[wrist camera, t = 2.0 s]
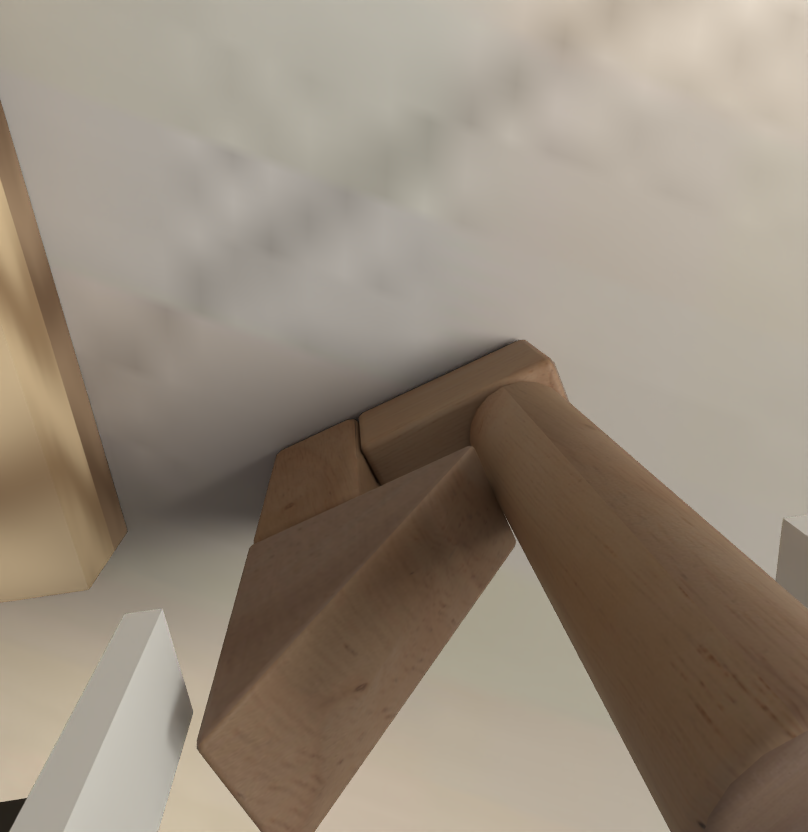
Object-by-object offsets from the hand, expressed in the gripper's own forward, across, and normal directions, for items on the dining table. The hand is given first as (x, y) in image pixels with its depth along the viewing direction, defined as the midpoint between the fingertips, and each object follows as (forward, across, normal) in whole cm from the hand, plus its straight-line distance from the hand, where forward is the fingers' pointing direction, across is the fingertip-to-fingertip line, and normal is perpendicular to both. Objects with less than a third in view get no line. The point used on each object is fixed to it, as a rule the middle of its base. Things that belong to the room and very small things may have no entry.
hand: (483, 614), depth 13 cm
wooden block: (+12, 0, 0) cm, 12 cm away
